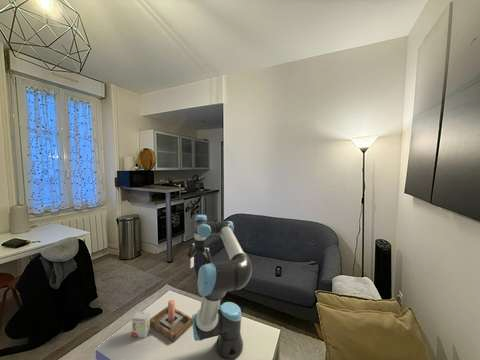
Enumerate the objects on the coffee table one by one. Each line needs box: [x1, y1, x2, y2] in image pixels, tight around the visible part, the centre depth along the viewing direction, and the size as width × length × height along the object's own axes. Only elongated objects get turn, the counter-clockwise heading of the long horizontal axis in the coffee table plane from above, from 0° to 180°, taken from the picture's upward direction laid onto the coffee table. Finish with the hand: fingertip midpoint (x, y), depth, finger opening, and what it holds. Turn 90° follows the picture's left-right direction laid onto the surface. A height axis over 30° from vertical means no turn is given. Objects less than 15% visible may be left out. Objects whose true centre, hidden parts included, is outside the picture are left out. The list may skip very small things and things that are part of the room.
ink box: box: [131, 311, 151, 338], centre depth 116 cm, size 9×5×12 cm, turn 88°
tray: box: [150, 305, 193, 343], centre depth 124 cm, size 22×15×4 cm
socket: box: [159, 313, 183, 331], centre depth 124 cm, size 10×10×3 cm
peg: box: [167, 299, 176, 324], centre depth 123 cm, size 4×4×14 cm
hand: (199, 270), depth 130 cm, fingers open, 13 cm apart
